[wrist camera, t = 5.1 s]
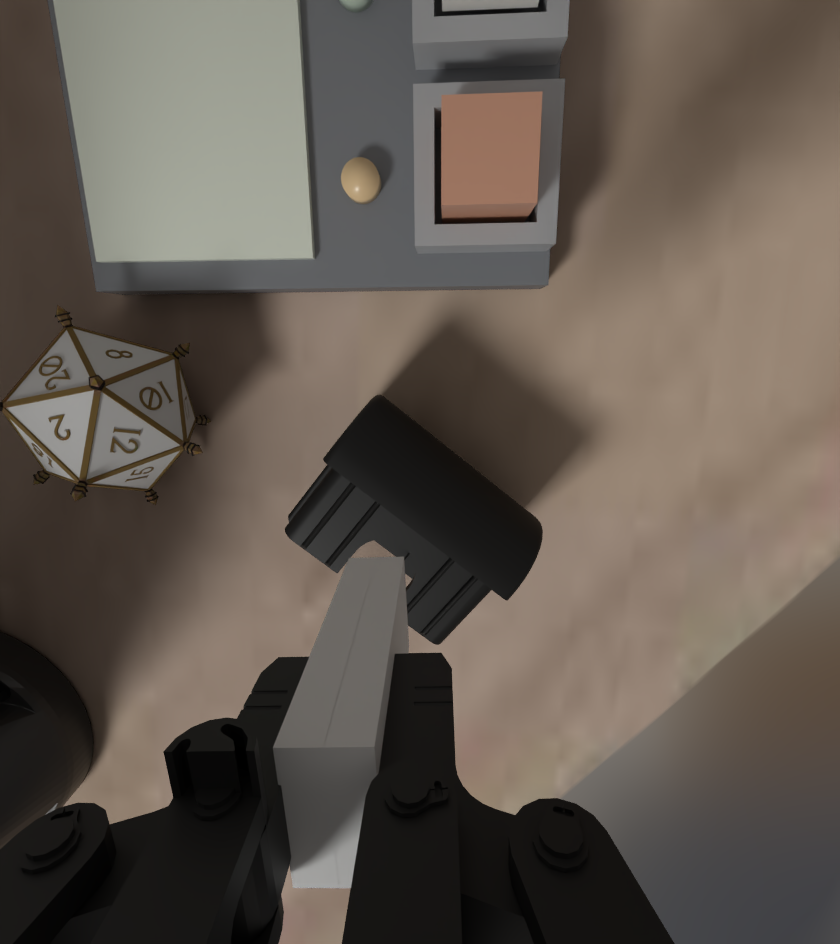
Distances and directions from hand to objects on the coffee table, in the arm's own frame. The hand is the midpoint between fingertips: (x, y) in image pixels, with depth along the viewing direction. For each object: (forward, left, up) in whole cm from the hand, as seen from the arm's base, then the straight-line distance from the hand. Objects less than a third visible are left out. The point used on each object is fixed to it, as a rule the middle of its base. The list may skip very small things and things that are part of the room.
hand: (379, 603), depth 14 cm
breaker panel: (-4, +17, -14) cm, 22 cm away
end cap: (0, -1, -14) cm, 14 cm away
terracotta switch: (+3, +13, -12) cm, 18 cm away
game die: (-14, +4, -14) cm, 20 cm away
